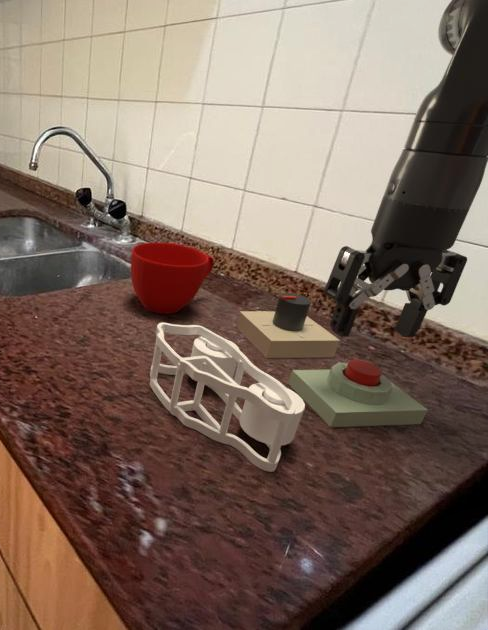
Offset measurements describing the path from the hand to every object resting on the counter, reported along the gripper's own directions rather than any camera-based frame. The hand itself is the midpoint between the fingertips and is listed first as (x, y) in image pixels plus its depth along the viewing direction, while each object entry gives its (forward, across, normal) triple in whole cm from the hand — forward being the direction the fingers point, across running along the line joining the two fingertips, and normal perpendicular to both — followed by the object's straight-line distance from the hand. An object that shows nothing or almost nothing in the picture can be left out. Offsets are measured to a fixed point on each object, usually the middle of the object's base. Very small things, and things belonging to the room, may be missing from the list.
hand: (371, 334), depth 54 cm
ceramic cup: (+10, -14, +29) cm, 34 cm away
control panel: (+10, 0, +15) cm, 18 cm away
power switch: (+10, 0, -1) cm, 10 cm away
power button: (+6, 0, -1) cm, 6 cm away
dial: (+6, 0, +15) cm, 17 cm away
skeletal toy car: (+10, -19, -2) cm, 21 cm away
